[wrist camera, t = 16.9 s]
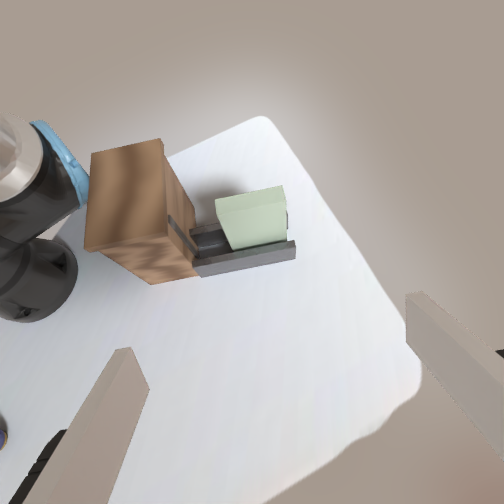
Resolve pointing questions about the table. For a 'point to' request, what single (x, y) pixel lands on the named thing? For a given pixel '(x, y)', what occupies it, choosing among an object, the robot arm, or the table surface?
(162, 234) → the walnut cabinet
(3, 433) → the rubber mallet
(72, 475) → the robot arm
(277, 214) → the cabinet door
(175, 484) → the table surface
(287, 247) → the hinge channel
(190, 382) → the table surface
